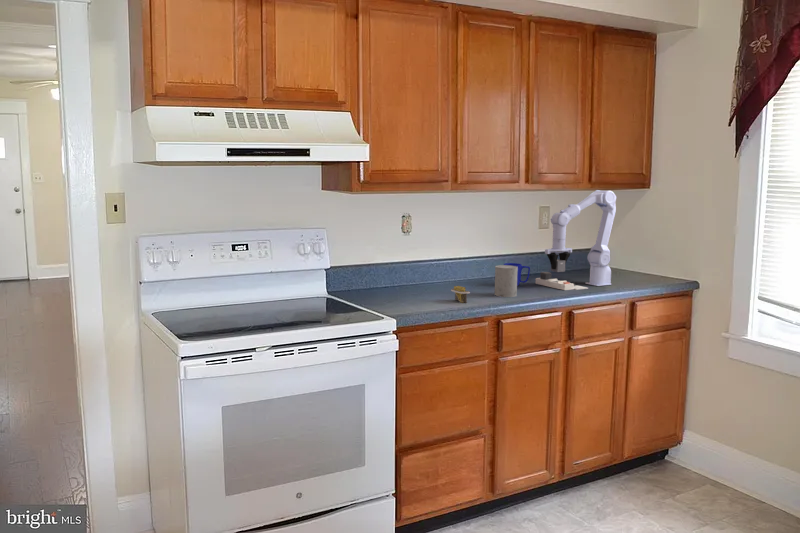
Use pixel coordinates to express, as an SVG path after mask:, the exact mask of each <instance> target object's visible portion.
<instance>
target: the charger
mask: <svg viewBox="0 0 800 533" xmlns="http://www.w3.org/2000/svg"><path fill="white" fill-rule="evenodd" d="M550 271H551V272H556V273H564V272H566V264H565V260H560V258H557V264H556V269H552V268H551V267H550Z"/></svg>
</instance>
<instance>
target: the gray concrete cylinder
mask: <svg viewBox="0 0 800 533" xmlns="http://www.w3.org/2000/svg"><path fill="white" fill-rule="evenodd" d="M494 271H495V272H494V296H495V295H496V296H495V297H499V296H501V298H514V297H518V295H517V294H518V286H517V271H518V267H517V266H512V265H504V264H500V265H495V270H494Z"/></svg>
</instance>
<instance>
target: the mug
mask: <svg viewBox="0 0 800 533" xmlns="http://www.w3.org/2000/svg"><path fill="white" fill-rule="evenodd" d="M503 265H512V266H517V267H518V271H517V287H519V285H520V284H521V283H523V284H524V283H527V282H528V281H529V278H530V274H531V272H530V271H531V267H530V266H525V265H522V264H521V263H516V262H507V263H503ZM524 268H525V269H528V271H527V277H526V279H525V280H524V281H523V280H522V270H523V269H524Z"/></svg>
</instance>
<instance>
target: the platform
mask: <svg viewBox="0 0 800 533" xmlns="http://www.w3.org/2000/svg"><path fill="white" fill-rule="evenodd" d="M450 291H451V292H453V293H454V300H455V301H458V302H459V303H465V304H467V302H468V300H467V299H468V294H470V293H471V292H470V291H468V290H466V287H465V286H461V285H456V286H455V285H453V288H451V289H450Z"/></svg>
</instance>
